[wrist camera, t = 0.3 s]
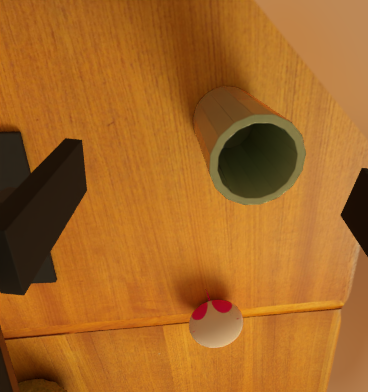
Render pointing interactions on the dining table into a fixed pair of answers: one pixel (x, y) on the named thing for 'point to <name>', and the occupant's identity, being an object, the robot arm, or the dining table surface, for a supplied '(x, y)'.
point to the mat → (12, 177)
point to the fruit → (40, 386)
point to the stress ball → (216, 323)
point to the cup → (247, 146)
